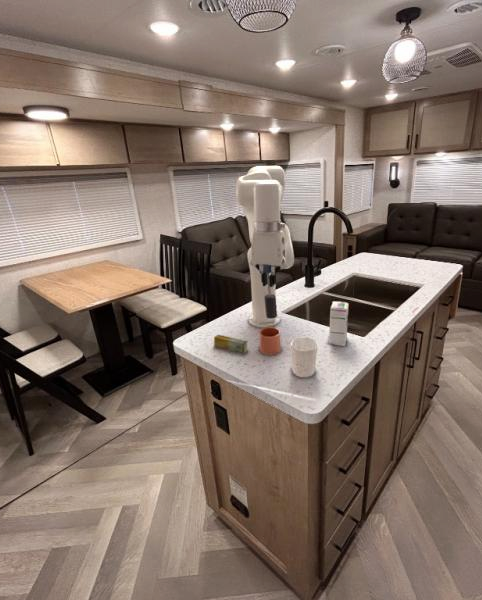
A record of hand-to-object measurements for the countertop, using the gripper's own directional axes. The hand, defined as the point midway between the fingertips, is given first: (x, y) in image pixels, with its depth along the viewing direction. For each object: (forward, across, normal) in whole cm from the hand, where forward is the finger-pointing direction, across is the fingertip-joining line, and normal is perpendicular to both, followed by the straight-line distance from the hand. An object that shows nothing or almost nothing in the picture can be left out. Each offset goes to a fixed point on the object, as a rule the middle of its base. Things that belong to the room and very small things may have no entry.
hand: (268, 284), depth 101 cm
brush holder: (+24, 0, 0) cm, 24 cm away
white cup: (+24, -14, +8) cm, 29 cm away
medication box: (+24, +13, +4) cm, 28 cm away
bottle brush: (+10, -1, +1) cm, 11 cm away
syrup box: (+24, -21, -13) cm, 35 cm away
